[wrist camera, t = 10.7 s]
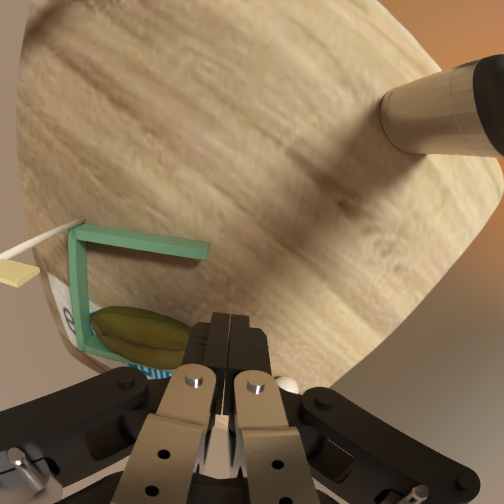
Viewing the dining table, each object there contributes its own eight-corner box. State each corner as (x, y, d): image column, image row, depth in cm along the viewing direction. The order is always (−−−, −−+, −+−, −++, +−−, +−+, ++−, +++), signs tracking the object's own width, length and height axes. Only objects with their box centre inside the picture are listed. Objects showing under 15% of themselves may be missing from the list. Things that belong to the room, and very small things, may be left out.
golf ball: (299, 371, 41) (304, 390, 37) (291, 391, 42) (296, 410, 38) (271, 369, 41) (274, 389, 37) (265, 389, 42) (267, 409, 38)
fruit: (146, 364, 40) (135, 393, 33) (99, 301, 36) (79, 325, 30) (208, 339, 39) (204, 369, 32) (161, 267, 35) (146, 289, 29)
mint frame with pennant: (210, 234, 34) (180, 322, 15) (195, 363, 40) (177, 479, 21) (79, 215, 32) (-30, 267, 13) (86, 339, 38) (26, 429, 19)
